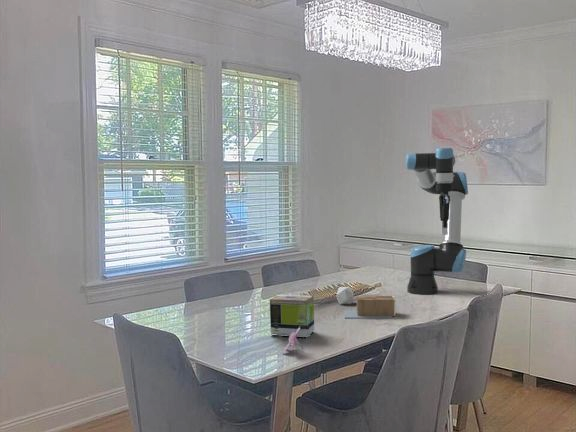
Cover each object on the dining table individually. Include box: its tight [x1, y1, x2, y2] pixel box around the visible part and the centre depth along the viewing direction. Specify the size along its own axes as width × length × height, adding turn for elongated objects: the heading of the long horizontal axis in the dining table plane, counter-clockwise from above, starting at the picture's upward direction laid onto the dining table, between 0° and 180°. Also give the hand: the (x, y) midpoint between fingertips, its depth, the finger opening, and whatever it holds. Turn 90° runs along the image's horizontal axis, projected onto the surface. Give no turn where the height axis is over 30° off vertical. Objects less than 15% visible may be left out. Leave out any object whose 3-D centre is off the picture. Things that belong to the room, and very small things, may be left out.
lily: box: [283, 327, 304, 353], centre depth 210 cm, size 11×11×9 cm
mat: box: [343, 309, 393, 319], centre depth 259 cm, size 12×20×1 cm, turn 87°
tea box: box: [269, 293, 315, 338], centre depth 231 cm, size 15×10×15 cm
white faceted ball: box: [335, 286, 355, 305], centre depth 280 cm, size 8×9×10 cm
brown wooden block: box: [356, 295, 396, 317], centre depth 258 cm, size 7×7×16 cm
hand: (444, 234), depth 270 cm, fingers closed
